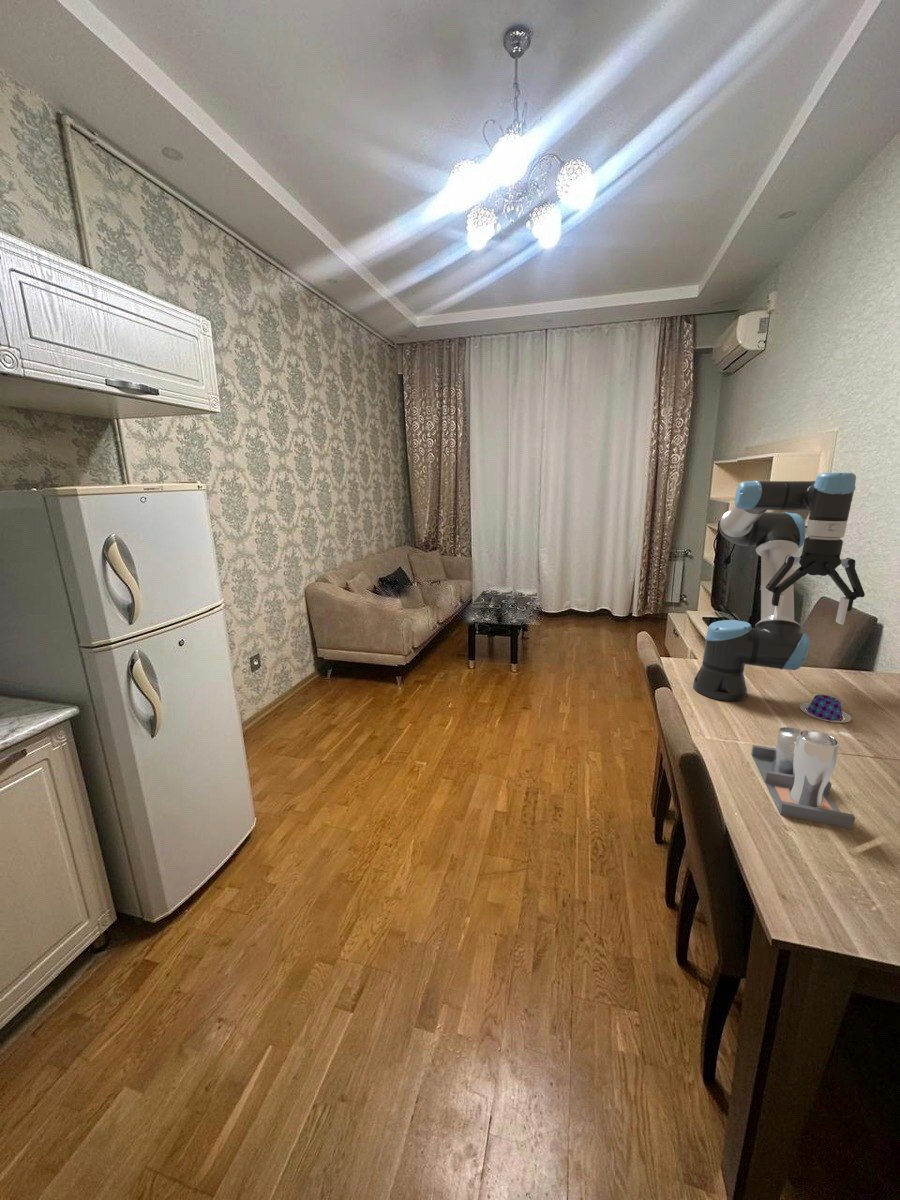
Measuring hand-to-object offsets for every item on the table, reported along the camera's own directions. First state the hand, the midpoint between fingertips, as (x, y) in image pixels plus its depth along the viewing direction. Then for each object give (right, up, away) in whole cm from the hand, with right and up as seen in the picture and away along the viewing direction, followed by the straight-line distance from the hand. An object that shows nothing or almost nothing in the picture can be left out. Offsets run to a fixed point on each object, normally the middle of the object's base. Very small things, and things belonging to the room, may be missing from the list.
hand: (807, 620), depth 120 cm
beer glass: (-17, -37, -21) cm, 46 cm away
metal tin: (-13, -35, -11) cm, 39 cm away
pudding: (+19, -29, +18) cm, 39 cm away
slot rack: (-15, -37, -16) cm, 43 cm away
